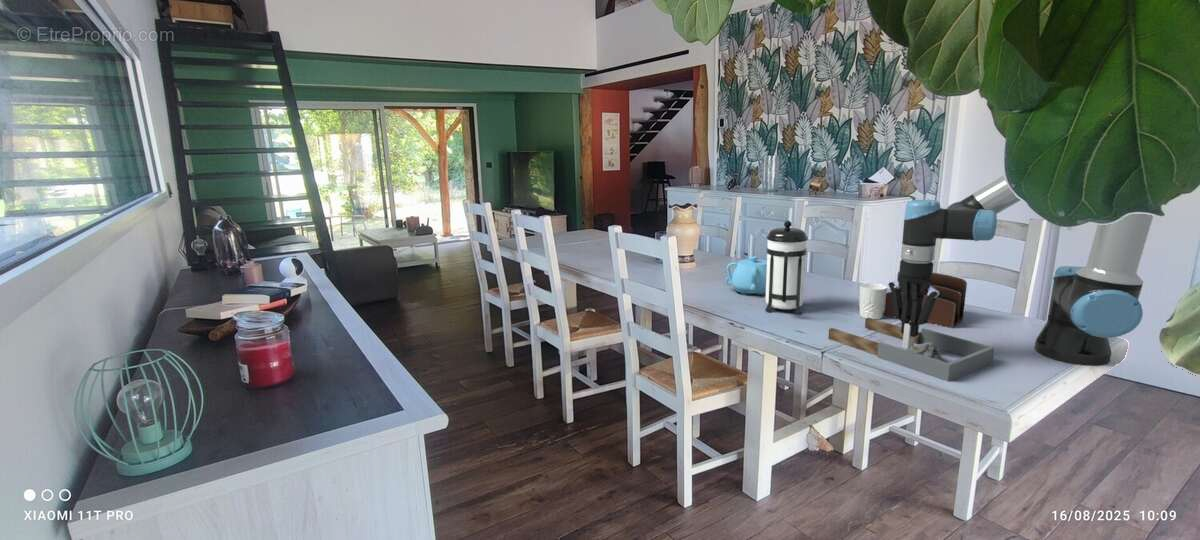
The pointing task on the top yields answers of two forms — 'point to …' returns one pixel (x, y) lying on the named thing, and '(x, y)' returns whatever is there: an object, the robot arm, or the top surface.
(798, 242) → the coffee press
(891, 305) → the letter holder
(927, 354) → the fossilized seashell
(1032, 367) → the top surface
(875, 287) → the white cup
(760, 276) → the decorative pot
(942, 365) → the tray
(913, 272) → the robot arm
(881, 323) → the slot rails
